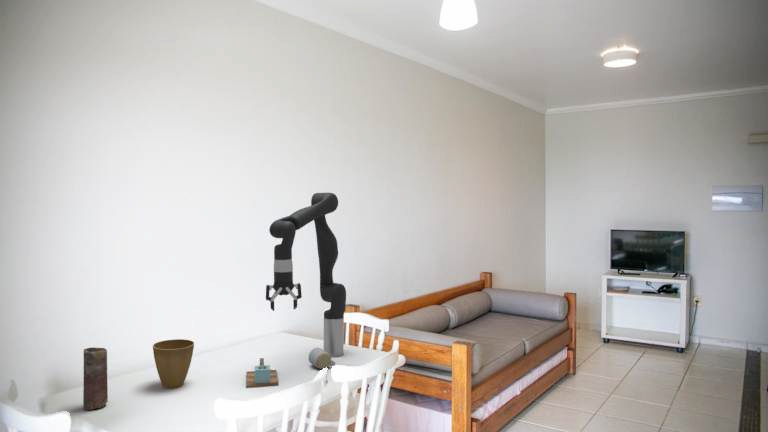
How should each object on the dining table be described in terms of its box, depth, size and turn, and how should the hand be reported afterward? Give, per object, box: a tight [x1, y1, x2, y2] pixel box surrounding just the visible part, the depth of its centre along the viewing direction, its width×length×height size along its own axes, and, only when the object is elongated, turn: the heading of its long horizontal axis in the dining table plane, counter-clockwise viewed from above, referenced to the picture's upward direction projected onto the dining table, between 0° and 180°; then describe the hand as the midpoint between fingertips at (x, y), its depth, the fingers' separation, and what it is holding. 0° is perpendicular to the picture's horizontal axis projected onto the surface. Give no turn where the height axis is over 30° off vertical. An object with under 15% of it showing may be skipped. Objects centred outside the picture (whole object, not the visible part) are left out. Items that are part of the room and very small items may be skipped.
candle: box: [82, 347, 109, 411], centre depth 185 cm, size 8×7×20 cm
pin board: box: [245, 357, 279, 389], centre depth 214 cm, size 16×12×7 cm
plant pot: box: [152, 338, 195, 389], centre depth 207 cm, size 15×15×16 cm
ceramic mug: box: [308, 347, 336, 370], centre depth 232 cm, size 11×8×8 cm
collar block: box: [254, 364, 271, 383], centre depth 210 cm, size 6×6×5 cm
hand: (283, 309), depth 220 cm, fingers open, 8 cm apart
